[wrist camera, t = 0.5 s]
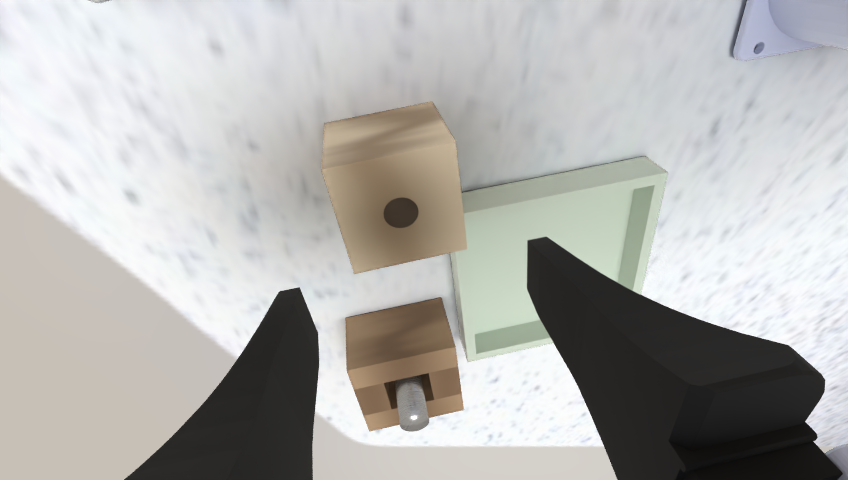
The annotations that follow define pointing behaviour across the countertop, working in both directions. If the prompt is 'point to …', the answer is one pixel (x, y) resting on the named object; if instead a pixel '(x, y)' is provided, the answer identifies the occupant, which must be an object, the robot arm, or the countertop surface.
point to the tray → (562, 223)
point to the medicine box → (99, 1)
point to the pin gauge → (411, 403)
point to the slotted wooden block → (402, 360)
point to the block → (394, 186)
